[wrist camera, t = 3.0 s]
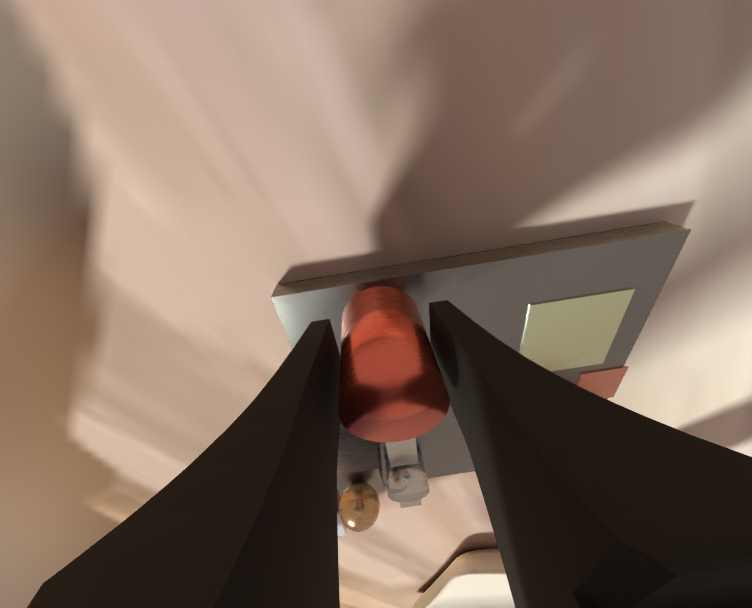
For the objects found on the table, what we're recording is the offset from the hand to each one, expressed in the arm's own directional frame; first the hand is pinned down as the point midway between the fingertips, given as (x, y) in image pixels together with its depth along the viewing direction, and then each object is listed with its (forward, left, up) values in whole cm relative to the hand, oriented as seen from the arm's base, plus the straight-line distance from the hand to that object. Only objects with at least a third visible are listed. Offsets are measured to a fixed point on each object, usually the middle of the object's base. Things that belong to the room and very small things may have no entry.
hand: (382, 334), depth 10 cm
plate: (+4, -7, -3) cm, 9 cm away
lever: (0, -7, -2) cm, 8 cm away
